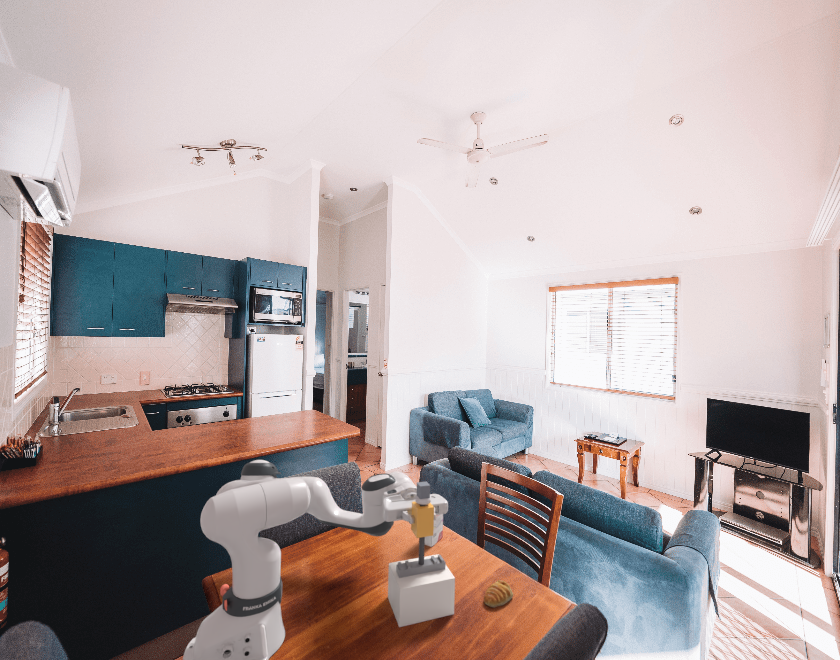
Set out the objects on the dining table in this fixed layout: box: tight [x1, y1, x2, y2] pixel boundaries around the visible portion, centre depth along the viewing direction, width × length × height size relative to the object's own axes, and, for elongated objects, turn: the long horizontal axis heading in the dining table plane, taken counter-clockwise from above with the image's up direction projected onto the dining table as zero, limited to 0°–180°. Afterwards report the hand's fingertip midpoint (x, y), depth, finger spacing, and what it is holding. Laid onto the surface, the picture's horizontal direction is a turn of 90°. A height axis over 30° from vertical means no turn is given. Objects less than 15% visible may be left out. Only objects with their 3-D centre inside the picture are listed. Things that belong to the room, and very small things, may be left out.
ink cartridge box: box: [424, 514, 444, 547], centre depth 143 cm, size 9×5×15 cm, turn 147°
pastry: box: [483, 579, 514, 608], centre depth 112 cm, size 9×7×4 cm
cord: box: [415, 481, 431, 565], centre depth 108 cm, size 4×4×25 cm
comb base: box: [387, 553, 456, 628], centre depth 108 cm, size 16×12×13 cm
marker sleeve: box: [410, 502, 434, 539], centre depth 108 cm, size 5×5×8 cm
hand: (423, 519), depth 108 cm, fingers closed on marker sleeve, 5 cm apart
